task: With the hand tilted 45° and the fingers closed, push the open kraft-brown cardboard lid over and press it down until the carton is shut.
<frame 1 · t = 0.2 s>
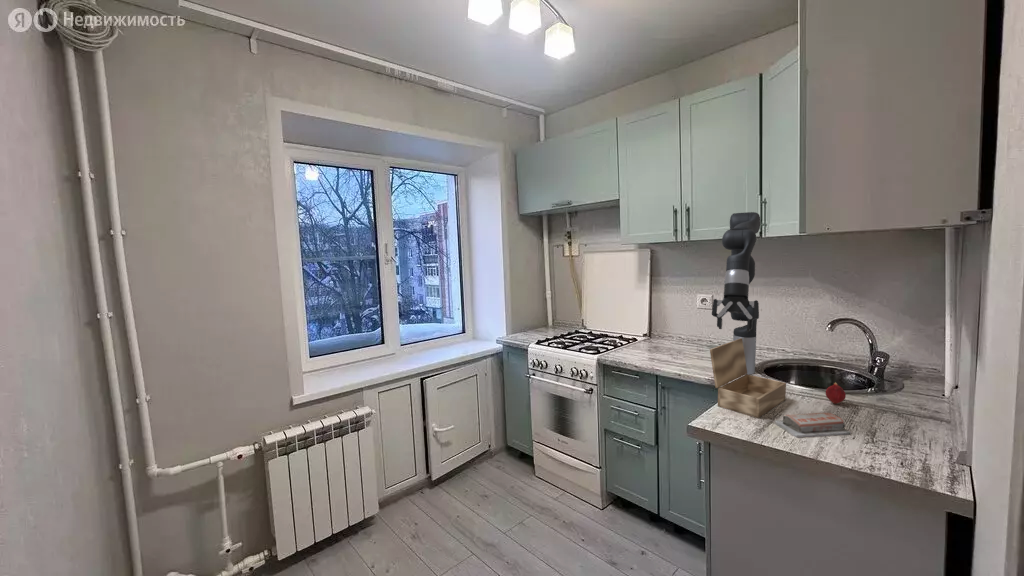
hand: (734, 329, 139), 31 cm above the worktop, tool tilted 20°, fingers open, 8 cm apart
packaged product: (811, 430, 131), on the worktop
carton lid: (729, 361, 158), point 14 cm above the worktop, hinge at 100.0°
carton: (751, 403, 153), on the worktop
onion: (834, 404, 150), on the worktop
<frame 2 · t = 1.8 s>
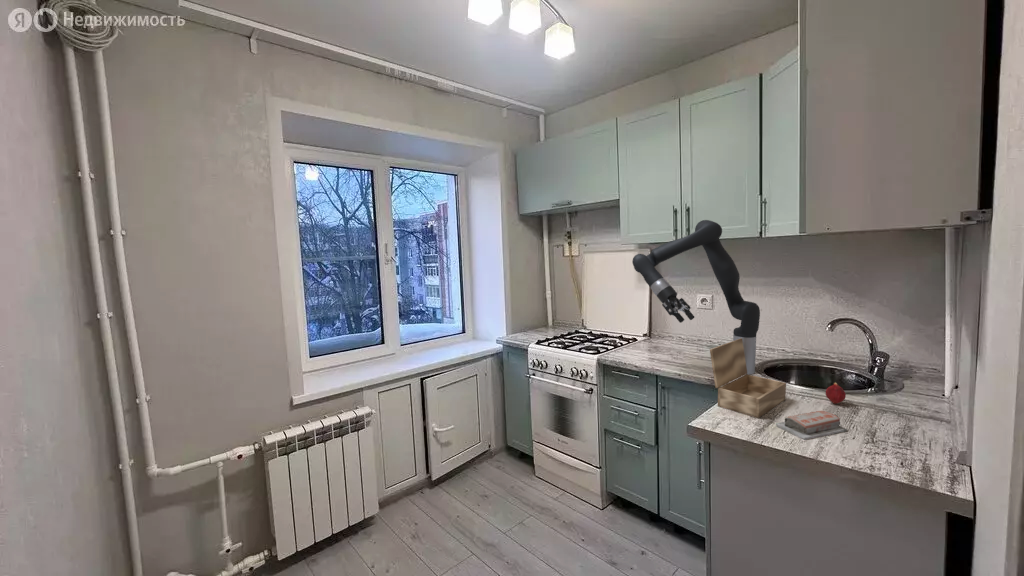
hand: (687, 320, 170), 29 cm above the worktop, tool tilted 45°, fingers open, 8 cm apart
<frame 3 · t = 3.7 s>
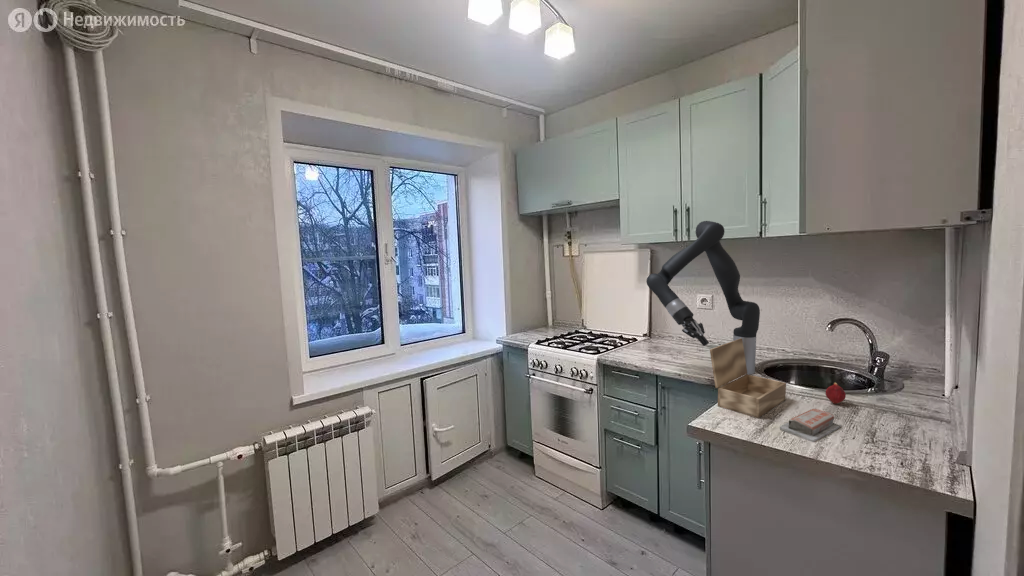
hand: (706, 344, 165), 20 cm above the worktop, tool tilted 45°, fingers closed
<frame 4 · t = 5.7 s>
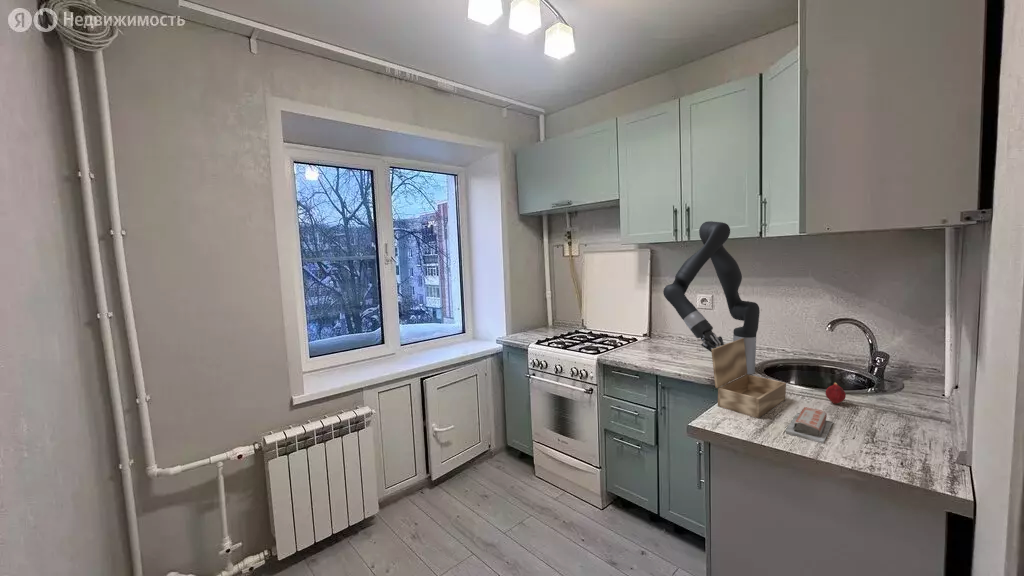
hand: (726, 359, 159), 15 cm above the worktop, tool tilted 45°, fingers closed
carton lid: (730, 361, 158), point 14 cm above the worktop, hinge at 97.6°, touching gripper
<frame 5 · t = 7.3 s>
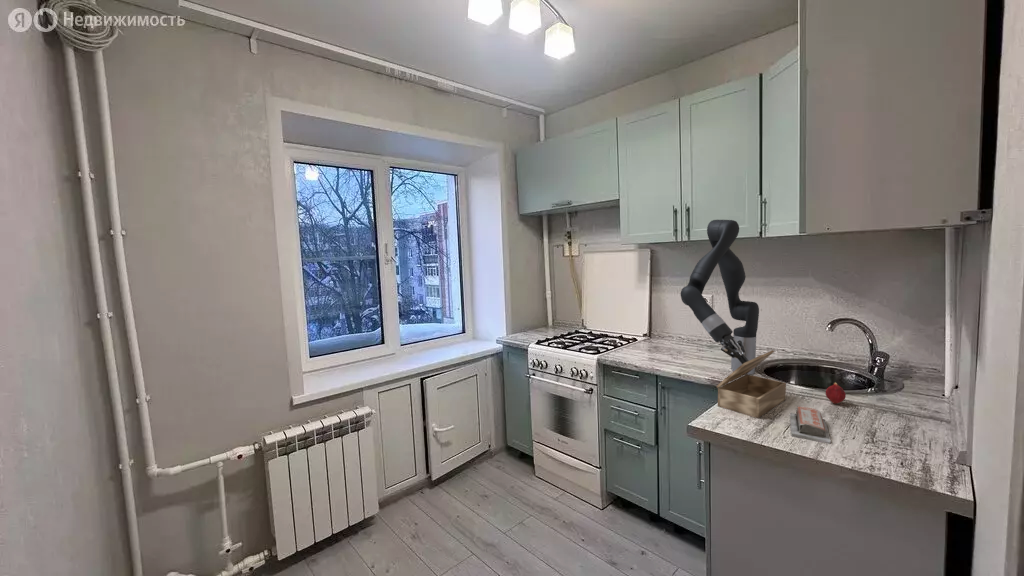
hand: (747, 364, 152), 15 cm above the worktop, tool tilted 45°, fingers closed
carton lid: (745, 368, 153), point 13 cm above the worktop, hinge at 49.3°, touching gripper
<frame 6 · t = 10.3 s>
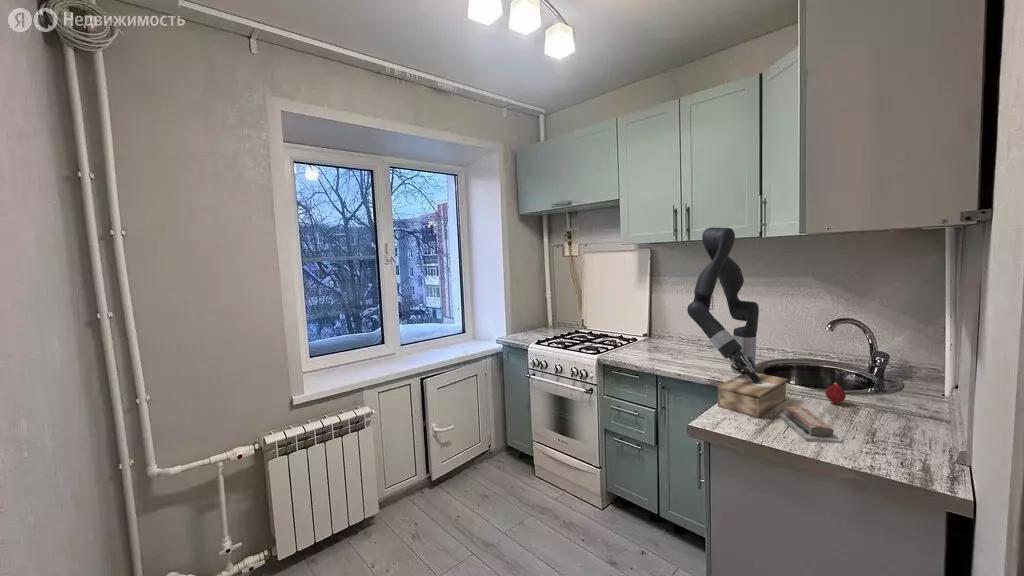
hand: (758, 381, 150), 9 cm above the worktop, tool tilted 45°, fingers closed
carton lid: (753, 383, 152), point 8 cm above the worktop, hinge at 2.4°, touching gripper
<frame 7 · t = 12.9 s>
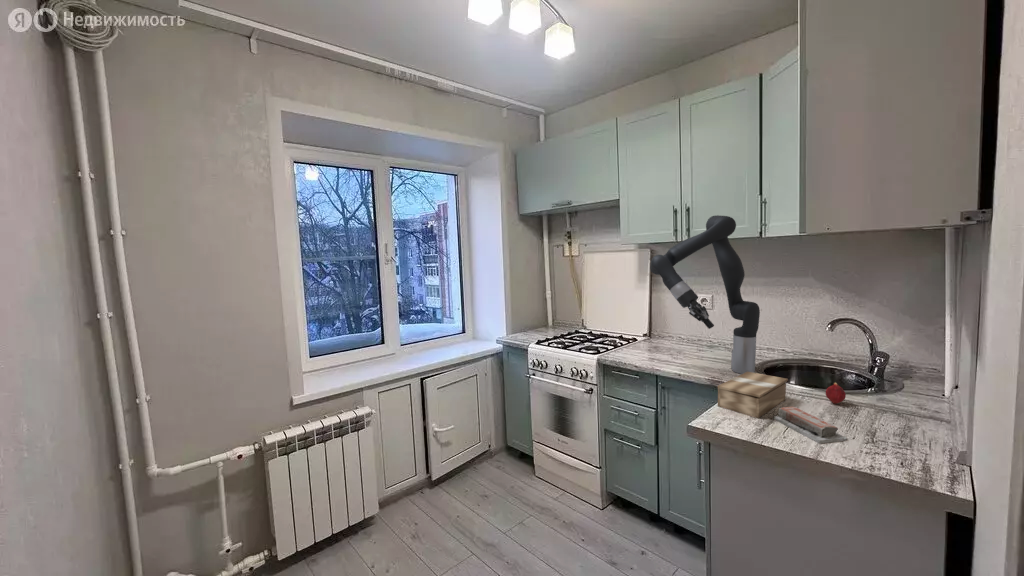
hand: (711, 327, 164), 27 cm above the worktop, tool tilted 40°, fingers closed
carton lid: (753, 383, 152), point 8 cm above the worktop, hinge at 2.4°
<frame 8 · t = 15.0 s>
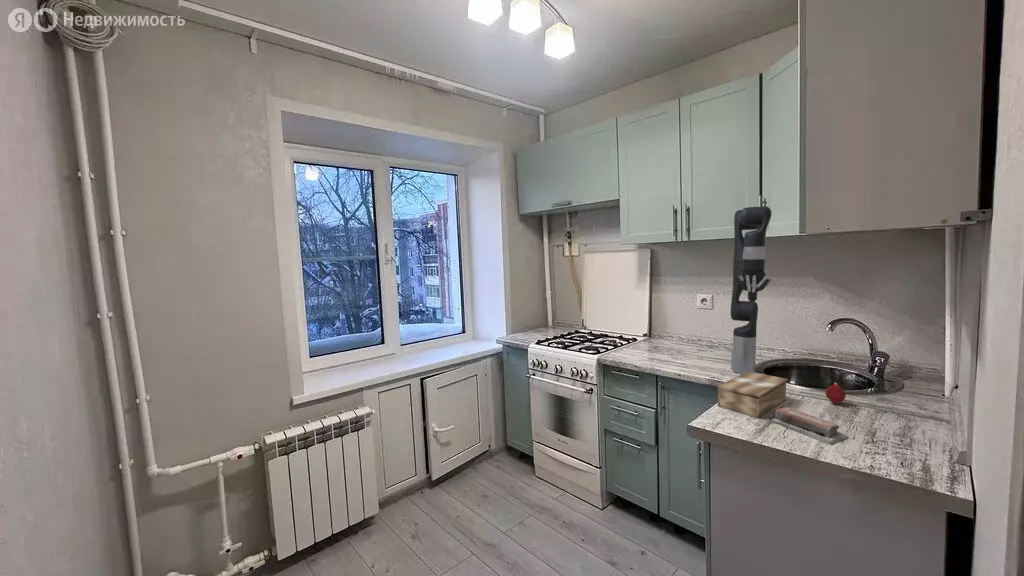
hand: (752, 301, 161), 37 cm above the worktop, tool pointing down, fingers closed
at the end: carton lid at +2° (first picture: +100°) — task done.
